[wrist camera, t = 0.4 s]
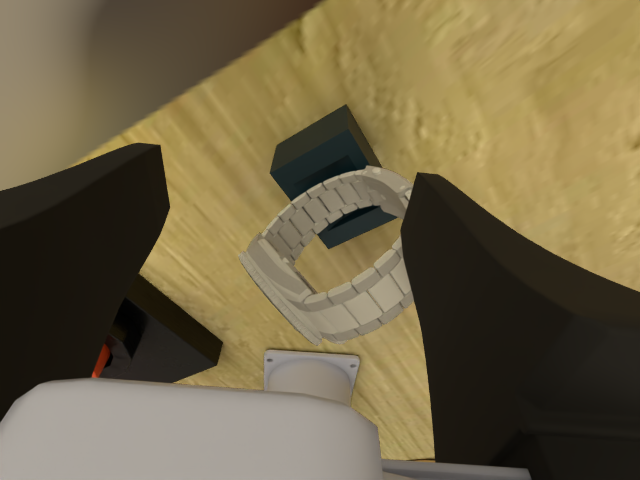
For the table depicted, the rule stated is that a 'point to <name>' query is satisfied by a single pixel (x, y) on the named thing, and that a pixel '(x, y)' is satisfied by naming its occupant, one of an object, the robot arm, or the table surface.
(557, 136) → the table surface
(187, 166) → the table surface
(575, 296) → the robot arm
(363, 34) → the table surface
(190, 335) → the box
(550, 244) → the table surface
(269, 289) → the watch
